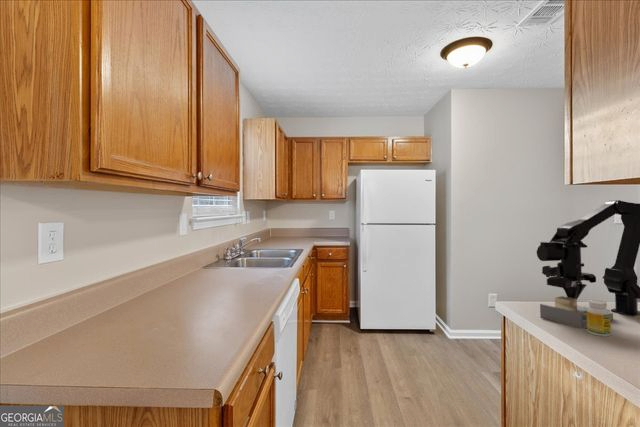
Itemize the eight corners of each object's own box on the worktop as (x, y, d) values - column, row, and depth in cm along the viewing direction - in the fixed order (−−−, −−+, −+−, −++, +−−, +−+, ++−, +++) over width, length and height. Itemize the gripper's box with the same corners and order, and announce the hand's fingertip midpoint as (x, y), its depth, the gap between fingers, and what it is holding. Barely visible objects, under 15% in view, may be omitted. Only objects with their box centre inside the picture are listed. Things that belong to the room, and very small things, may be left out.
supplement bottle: (590, 328, 99) (589, 298, 99) (613, 333, 94) (612, 301, 94) (584, 332, 96) (583, 301, 96) (607, 338, 91) (606, 305, 91)
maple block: (563, 307, 114) (562, 296, 114) (577, 310, 110) (576, 299, 110) (555, 309, 112) (554, 297, 112) (569, 312, 108) (568, 300, 108)
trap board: (571, 309, 118) (571, 297, 118) (613, 319, 106) (612, 305, 106) (540, 316, 110) (540, 304, 110) (581, 328, 99) (581, 314, 99)
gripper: (562, 255, 124) (563, 295, 124) (530, 259, 116) (532, 301, 116) (596, 258, 113) (597, 302, 113) (564, 263, 106) (565, 310, 106)
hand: (572, 303), depth 113 cm, fingers closed
